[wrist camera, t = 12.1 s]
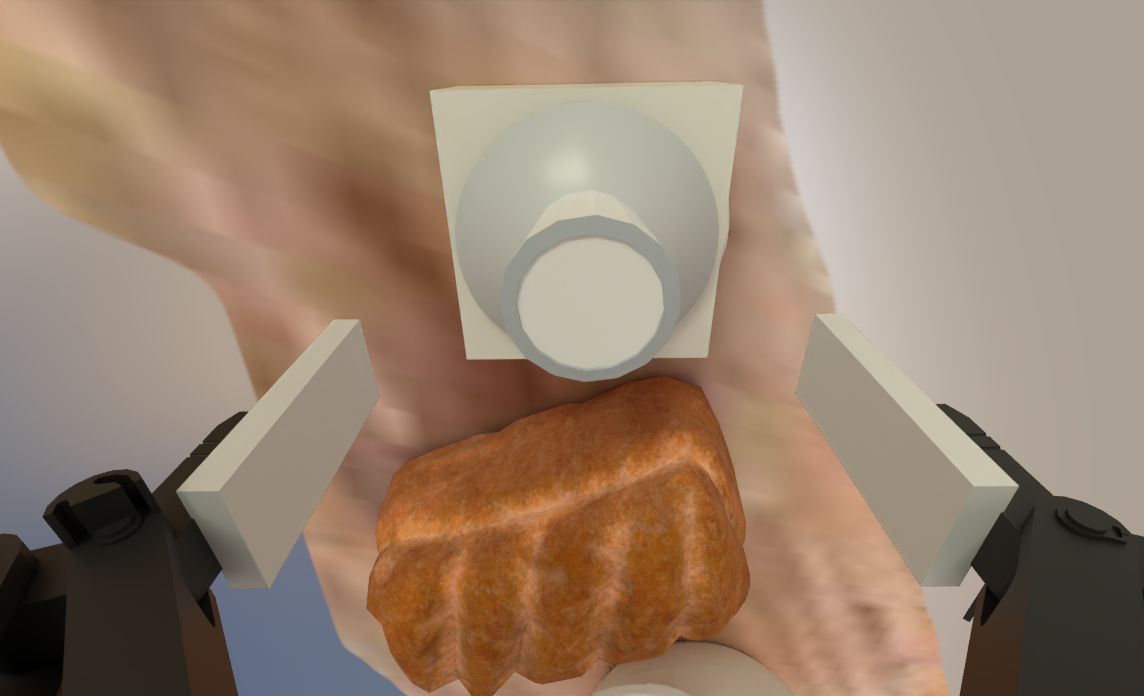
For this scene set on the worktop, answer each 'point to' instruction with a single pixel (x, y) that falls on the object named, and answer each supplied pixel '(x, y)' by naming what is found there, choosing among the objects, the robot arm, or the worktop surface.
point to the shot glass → (590, 290)
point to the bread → (562, 542)
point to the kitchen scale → (586, 183)
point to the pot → (694, 674)
